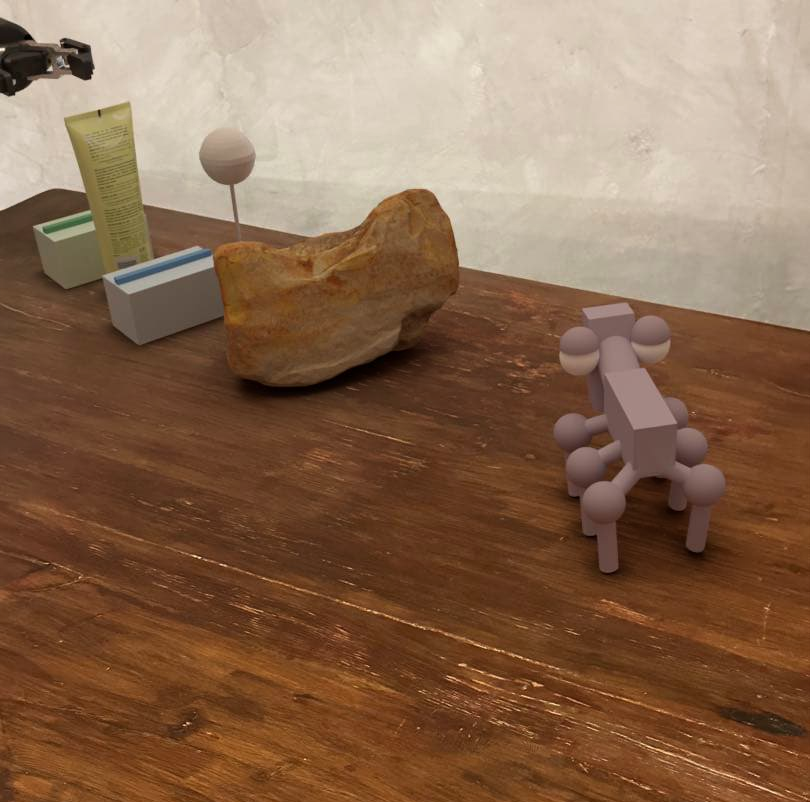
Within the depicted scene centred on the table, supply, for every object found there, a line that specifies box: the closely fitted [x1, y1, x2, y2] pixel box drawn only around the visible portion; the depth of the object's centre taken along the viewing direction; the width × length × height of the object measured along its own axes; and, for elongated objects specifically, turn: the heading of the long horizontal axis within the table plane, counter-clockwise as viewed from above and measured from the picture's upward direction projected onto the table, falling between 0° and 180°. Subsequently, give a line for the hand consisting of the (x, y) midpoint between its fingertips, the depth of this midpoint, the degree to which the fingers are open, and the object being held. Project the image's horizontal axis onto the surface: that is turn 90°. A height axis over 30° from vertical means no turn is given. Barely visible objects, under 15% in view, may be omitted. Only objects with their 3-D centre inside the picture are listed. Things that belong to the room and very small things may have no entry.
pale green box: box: [32, 209, 155, 290], centre depth 127 cm, size 11×6×6 cm, turn 127°
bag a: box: [101, 245, 224, 346], centre depth 115 cm, size 11×6×6 cm, turn 127°
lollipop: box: [198, 127, 257, 242], centre depth 124 cm, size 6×6×15 cm
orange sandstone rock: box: [212, 188, 461, 388], centre depth 107 cm, size 23×17×15 cm
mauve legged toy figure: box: [552, 301, 727, 574], centre depth 85 cm, size 20×11×14 cm, turn 6°
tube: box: [63, 100, 151, 274], centre depth 118 cm, size 6×5×20 cm
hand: (49, 77), depth 118 cm, fingers open, 8 cm apart
